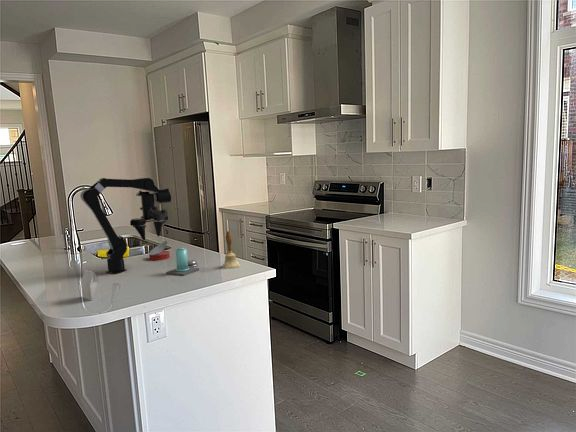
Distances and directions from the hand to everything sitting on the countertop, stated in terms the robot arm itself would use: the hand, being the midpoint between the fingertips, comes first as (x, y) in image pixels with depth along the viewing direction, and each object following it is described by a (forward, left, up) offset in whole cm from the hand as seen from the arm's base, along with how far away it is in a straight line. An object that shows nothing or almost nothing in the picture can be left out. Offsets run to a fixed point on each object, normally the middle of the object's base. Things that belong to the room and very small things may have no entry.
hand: (151, 237), depth 208 cm
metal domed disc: (+4, -19, -13) cm, 23 cm away
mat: (-6, -23, -13) cm, 27 cm away
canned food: (+12, +8, -13) cm, 20 cm away
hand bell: (+9, -38, -13) cm, 41 cm away
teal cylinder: (-6, -23, -12) cm, 27 cm away
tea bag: (-46, -15, -13) cm, 50 cm away
